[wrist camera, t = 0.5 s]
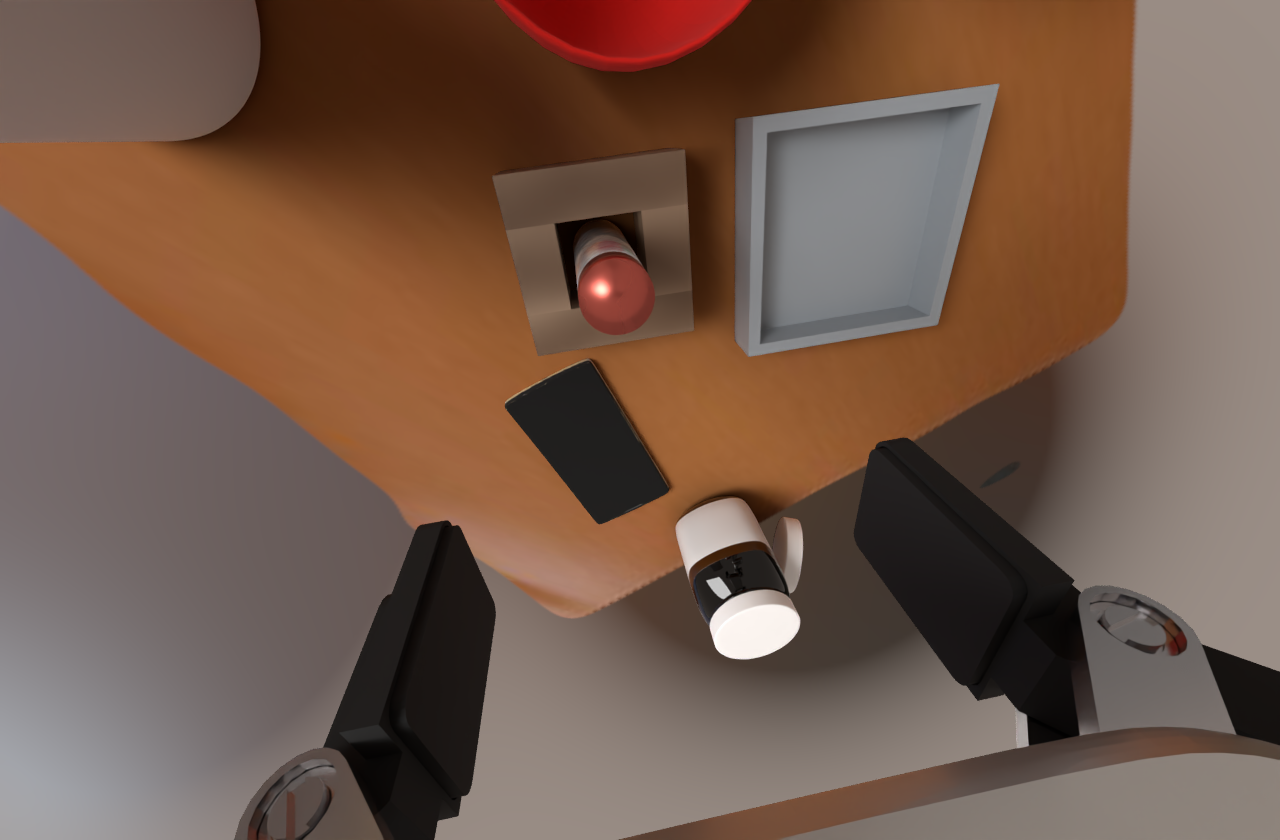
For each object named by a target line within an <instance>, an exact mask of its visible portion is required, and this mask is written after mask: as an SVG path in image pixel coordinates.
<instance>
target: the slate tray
mask: <svg viewBox="0 0 1280 840" xmlns="http://www.w3.org/2000/svg"><path fill="white" fill-rule="evenodd" d="M998 87H999V84H994V85H985V86H977V87H969V88H961V89H954V90H946V91H939V92H931V93H924V94H916V95H909V96H902V97H894V98H887V99H879V100H872V101H865V102H857V103H850V104H842V105H835V106H827V107H820V108H813V109H805V110H798V111H790V112H783V113H776V114H768V115H761V116H753V117H746V118H739V119H735V341H736V342H737V344H738V345H739V346H740V347H741V348H742V350H743V351H744V352H745V353H746V354H747V355H748V357H750V356H756V355H762V354H768V353H774V352H780V351H786V350H792V349H797V348H803V347H809V346H815V345H821V344H827V343H833V342H839V341H845V340H851V339H857V338H863V337H869V336H875V335H881V334H886V333H892V332H898V331H904V330H910V329H916V328H922V327H928V326H934V325H938V321H939V318H940V314H941V310H942V306H943V302H944V298H945V294H946V290H947V286H948V282H949V279H950V275H951V271H952V267H953V263H954V259H955V255H956V251H957V247H958V243H959V239H960V236H961V232H962V228H963V224H964V220H965V216H966V212H967V208H968V204H969V200H970V197H971V193H972V189H973V185H974V181H975V177H976V173H977V169H978V165H979V161H980V158H981V154H982V150H983V146H984V142H985V138H986V134H987V130H988V126H989V122H990V119H991V115H992V111H993V107H994V103H995V99H996V95H997V91H998Z"/></svg>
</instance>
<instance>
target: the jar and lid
mask: <svg viewBox="0 0 1280 840" xmlns="http://www.w3.org/2000/svg"><path fill="white" fill-rule="evenodd" d="M676 535H677V540H678V544H679V547H680V551H681V554H682V557H683V561H684V564H685V568H686V571H687V575H688V578H689V581H690V585H691V588H692V591H693V594H694V597H695V600H696V603H697V605H698V608H699V610H700V612H701V614H702V616H703V618H704V619H705V621H706V622H707V624H708V625H709V626H710V631H711V634H712V637H713V640H714V644H715V646H716V649H717V650H718V651H719V652H720V653H721V654H723V655H724V656H727V657H730V658H734V659H752V658H757V657H761V656H764V655H767V654H770V653H772V652H774V651H776V650H778V649H780V648H782V647H783V646H784V645H786V644H787V643H788V642H789V641H790V640H792V639H793V637H794V636H795V635H796V633H797V631H798V629H799V627H800V617H799V615H798V613H797V611H796V609H795V607H794V605H793V603H792V601H791V600H790V595H789V593H792V592H793V591H794V590H795V588H796V586H797V583H798V580H799V576H800V571H801V565H802V555H803V535H802V528H801V524H800V522H799V520H798V519H794V518H788V517H781V519H780V520H779V522H778V524H777V527H776V531H775V536H774V541H773V548H772V549H771V547H770V545H769V543H768V541H767V539H766V537H765V535H764V533H763V531H762V529H761V527H760V525H759V523H758V521H757V519H756V517H755V516H754V514H753V512H752V510H751V509H750V507H749V506H748V505H747V503H746V502H745V501H744V500H742V499H741V498H739V497H735V496H723V497H717V498H713V499H709V500H706V501H704V502H701V503H699V504H697V505H696V506H694V507H692V508H691V509H689V510H688V511H686V512H685V513H684V514H683V515H682V516H681V517H680V518H679V519H678V521H677V524H676Z"/></svg>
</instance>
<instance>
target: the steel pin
mask: <svg viewBox="0 0 1280 840" xmlns="http://www.w3.org/2000/svg"><path fill="white" fill-rule="evenodd" d="M573 250H574V260H575V270H576V279H577V289H578V299H579V306H580V310H581V312H582V314H583V316H584V318H585V319H586V321H587V322H588V323H589V324H590V325H591V326H592V327H593V328H595V329H596V330H598V331H600V332H602V333H605V334H609V335H623V334H627V333H630V332H632V331H634V330H636V329H638V328H639V327H641V326H642V325H643V324H644V323H645V322H646V321H647V319H648V318H649V316H650V314H651V313H652V310H653V307H654V303H655V290H654V286H653V283H652V280H651V278H650V277H649V275H648V274H647V272H646V270H645V269H644V267H643V266H642V264H641V262H640V261H639V259H638V258H637V256H636V254H635V253H634V251H633V250H632V248H631V247H630V245H629V243H628V242H627V240H626V239H625V237H624V235H623V234H622V232H621V231H620V229H619V228H618V227H617V226H616V225H614V224H613V223H611V222H609V221H606V220H600V219H598V220H592V221H589V222H587V223H585V224H584V225H583V226H582V227H581V228H580V229H579V230H578V232H577V233H576V236H575V238H574V243H573Z"/></svg>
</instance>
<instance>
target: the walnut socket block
mask: <svg viewBox="0 0 1280 840" xmlns="http://www.w3.org/2000/svg"><path fill="white" fill-rule="evenodd" d="M492 179H493V183H494V186H495V190H496V194H497V198H498V202H499V206H500V210H501V214H502V218H503V222H504V225H505V229H506V233H507V237H508V241H509V245H510V249H511V253H512V257H513V261H514V264H515V268H516V272H517V276H518V280H519V284H520V288H521V292H522V296H523V300H524V303H525V307H526V311H527V315H528V319H529V323H530V327H531V331H532V335H533V339H534V342H535V346H536V350H537V354H538V356H542V355H548V354H554V353H560V352H566V351H572V350H578V349H585V348H591V347H597V346H603V345H609V344H615V343H621V342H627V341H633V340H640V339H646V338H652V337H658V336H664V335H670V334H676V333H682V332H688V331H694V317H693V297H692V277H691V258H690V238H689V218H688V198H687V178H686V158H685V149H676V148H665V149H658V150H651V151H643V152H636V153H629V154H622V155H614V156H607V157H600V158H593V159H585V160H578V161H571V162H564V163H556V164H549V165H542V166H534V167H527V168H520V169H513V170H505V171H500V172H498V173H496V174H495V175H493V176H492ZM630 212H633V216H634V225H635V234H636V243H637V252H638V259H639V261H640V262H641V264H642V266H643V267H644V269H645V270H646V272H647V274H648V275H649V277H650V278H651V280H652V283H653V286H654V290H655V303H654V307H653V310H652V313H651V314H650V316H649V318H648V319H647V321H646V322H645V323H644V324H643V325H642V326H641V327H639V328H638V329H636V330H634V331H632V332H630V333H627V334H623V335H609V334H605V333H602V332H600V331H598V330H596V329H595V328H593V327H592V326H591V325H590V324H589V323H588V322H587V321H586V319H585V318H584V316H583V314H582V312H581V310H580V306H579V299H578V289H576V290H570V287H569V282H568V276H567V271H566V266H565V261H564V256H563V251H562V246H561V241H560V236H559V231H558V226H557V223H561V222H568V221H575V220H582V219H588V218H595V217H602V216H609V215H616V214H623V213H630Z"/></svg>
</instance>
